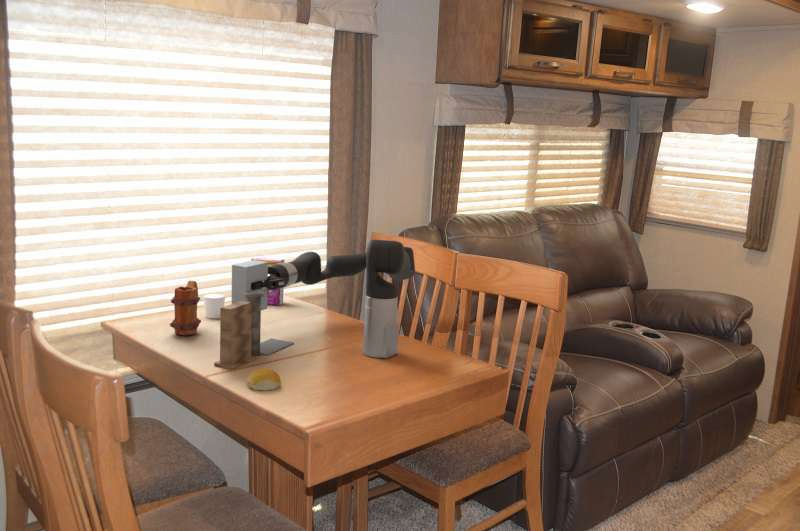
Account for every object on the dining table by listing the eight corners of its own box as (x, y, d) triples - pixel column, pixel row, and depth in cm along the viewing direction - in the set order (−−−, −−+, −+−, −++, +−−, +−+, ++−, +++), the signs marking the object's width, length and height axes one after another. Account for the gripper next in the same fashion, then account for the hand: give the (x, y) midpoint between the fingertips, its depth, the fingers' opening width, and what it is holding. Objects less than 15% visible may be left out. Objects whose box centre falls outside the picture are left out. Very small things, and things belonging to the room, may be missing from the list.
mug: (194, 338, 223) (194, 289, 220) (167, 337, 223) (167, 287, 220) (207, 325, 237) (208, 279, 235) (182, 324, 237) (182, 278, 235)
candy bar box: (249, 303, 268) (250, 258, 265) (253, 300, 273) (254, 256, 270) (279, 306, 267) (280, 261, 264) (283, 303, 272) (284, 258, 269)
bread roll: (278, 379, 193) (279, 364, 192) (281, 391, 185) (282, 375, 184) (246, 380, 191) (246, 365, 190) (247, 392, 183) (247, 376, 182)
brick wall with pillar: (249, 350, 215) (250, 289, 211) (267, 354, 212) (268, 292, 209) (214, 365, 200) (214, 300, 197) (232, 369, 198) (233, 303, 194)
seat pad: (271, 339, 227) (271, 338, 227) (294, 343, 224) (294, 342, 224) (244, 350, 214) (244, 349, 214) (267, 355, 211) (267, 354, 211)
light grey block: (267, 308, 222) (267, 262, 219) (245, 315, 213) (245, 267, 210) (253, 306, 224) (254, 260, 221) (231, 312, 215) (231, 264, 213)
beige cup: (229, 316, 250) (229, 295, 249) (214, 320, 245) (214, 299, 243) (214, 312, 254) (214, 292, 253) (199, 316, 248) (199, 295, 247)
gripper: (298, 291, 227) (263, 301, 212) (260, 284, 234) (224, 294, 219) (299, 267, 226) (264, 275, 211) (261, 260, 232) (224, 268, 217)
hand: (244, 285), depth 215 cm, fingers closed on light grey block, 5 cm apart
